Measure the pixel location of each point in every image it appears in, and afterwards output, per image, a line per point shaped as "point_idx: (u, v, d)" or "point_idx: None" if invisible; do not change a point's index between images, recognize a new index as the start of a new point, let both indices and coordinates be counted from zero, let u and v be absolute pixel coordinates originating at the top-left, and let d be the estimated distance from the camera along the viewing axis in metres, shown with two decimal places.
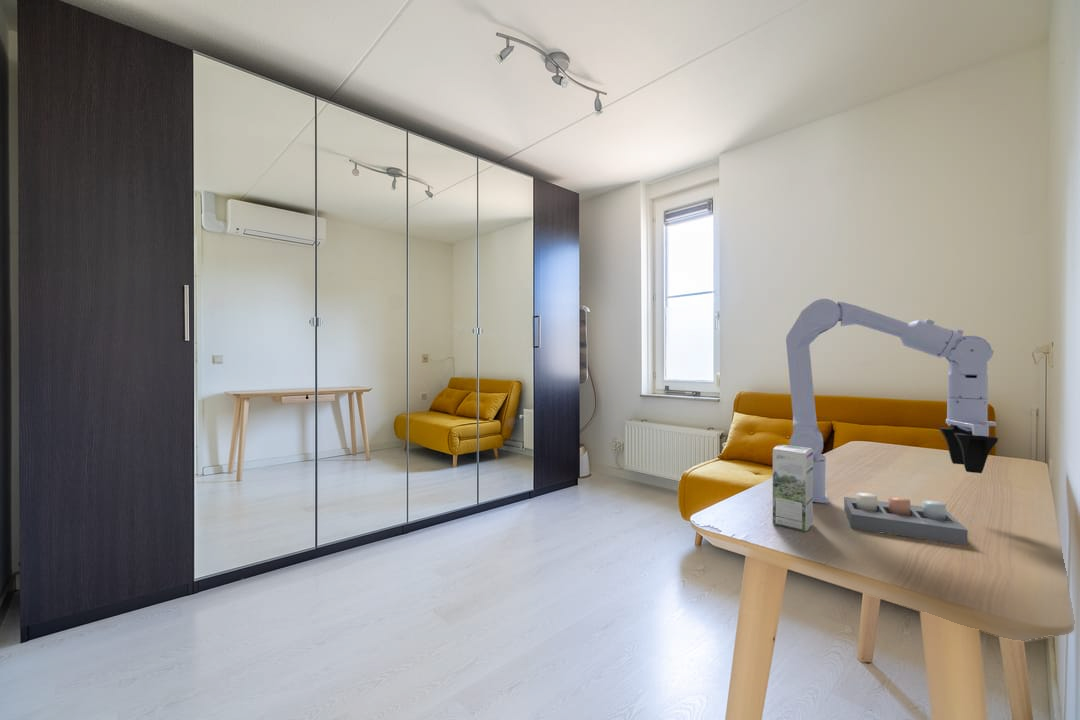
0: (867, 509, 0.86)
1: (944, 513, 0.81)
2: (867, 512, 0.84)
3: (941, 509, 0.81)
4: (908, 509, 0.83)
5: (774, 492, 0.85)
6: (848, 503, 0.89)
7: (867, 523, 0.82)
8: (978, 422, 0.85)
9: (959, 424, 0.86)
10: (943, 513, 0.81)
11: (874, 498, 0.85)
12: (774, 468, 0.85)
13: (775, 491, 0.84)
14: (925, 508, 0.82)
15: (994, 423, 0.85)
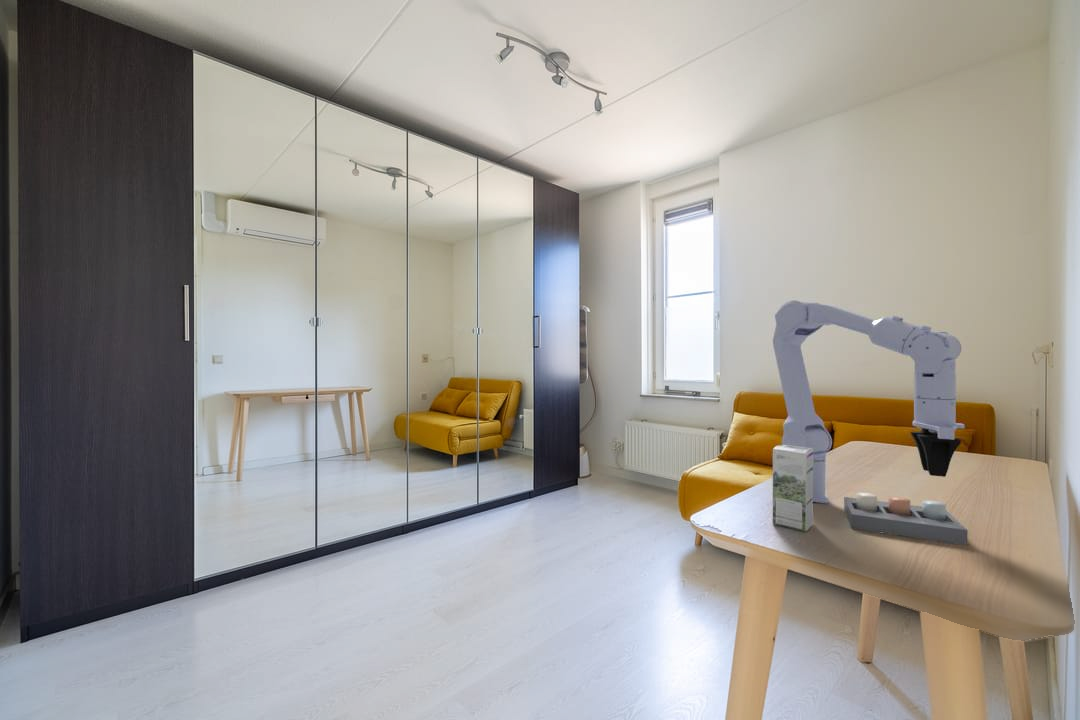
0: (867, 509, 0.86)
1: (944, 513, 0.81)
2: (867, 512, 0.84)
3: (941, 509, 0.81)
4: (908, 509, 0.83)
5: (774, 492, 0.85)
6: (848, 503, 0.89)
7: (867, 523, 0.82)
8: (945, 424, 0.79)
9: (925, 426, 0.80)
10: (943, 513, 0.81)
11: (874, 498, 0.85)
12: (775, 468, 0.85)
13: (775, 491, 0.84)
14: (925, 508, 0.82)
15: (962, 425, 0.80)
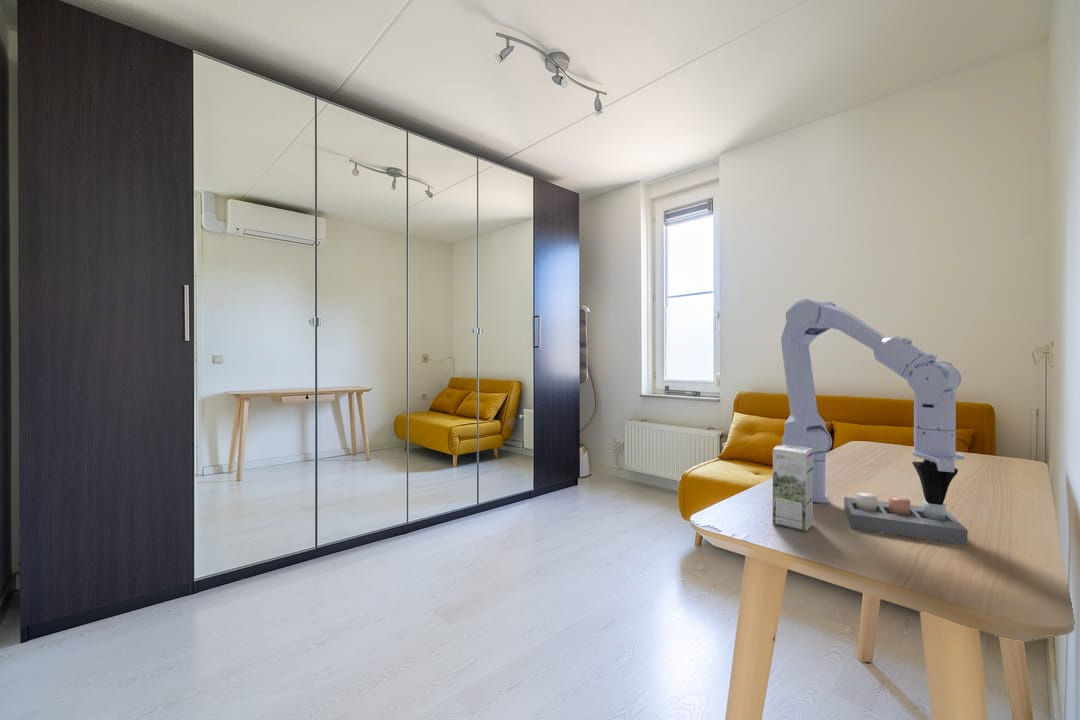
0: (867, 509, 0.86)
1: (944, 513, 0.81)
2: (867, 512, 0.84)
3: (941, 509, 0.81)
4: (908, 509, 0.83)
5: (774, 492, 0.85)
6: (848, 503, 0.89)
7: (867, 523, 0.82)
8: (945, 455, 0.79)
9: (925, 457, 0.80)
10: (943, 513, 0.81)
11: (874, 498, 0.85)
12: (775, 468, 0.85)
13: (775, 491, 0.84)
14: (925, 508, 0.82)
15: (962, 456, 0.80)
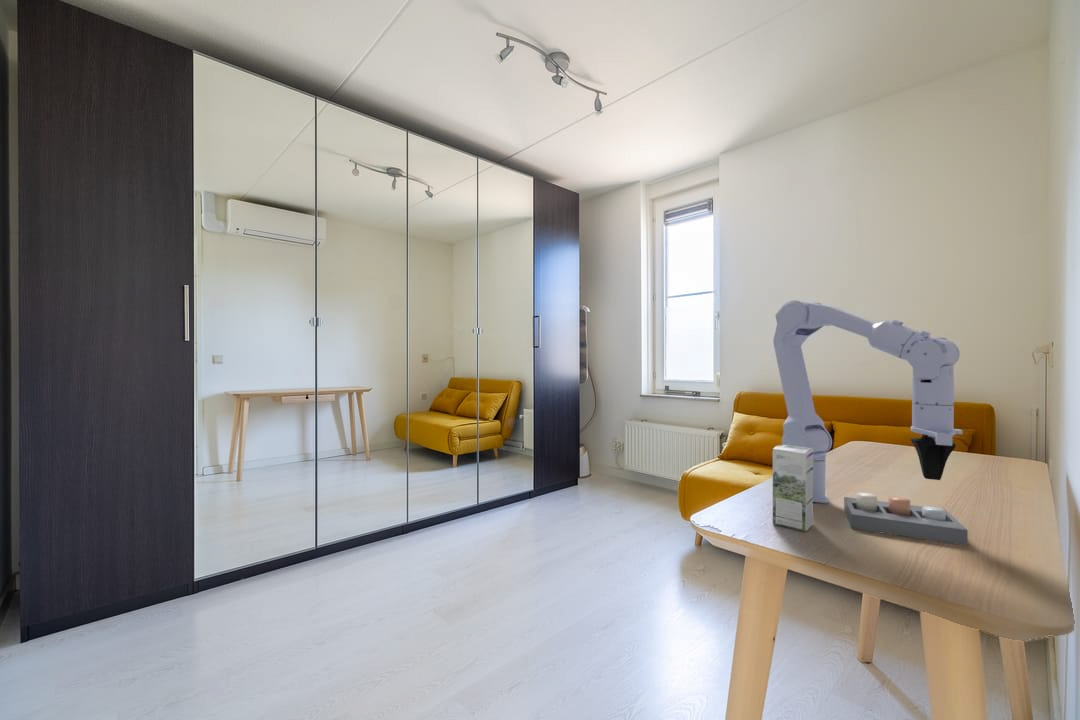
0: (867, 509, 0.86)
1: (944, 519, 0.81)
2: (867, 512, 0.84)
3: (941, 515, 0.81)
4: (908, 509, 0.83)
5: (774, 492, 0.85)
6: (848, 503, 0.89)
7: (867, 523, 0.82)
8: (943, 430, 0.80)
9: (923, 432, 0.80)
10: (943, 519, 0.81)
11: (874, 498, 0.85)
12: (774, 468, 0.85)
13: (775, 491, 0.84)
14: (925, 514, 0.82)
15: (960, 431, 0.80)
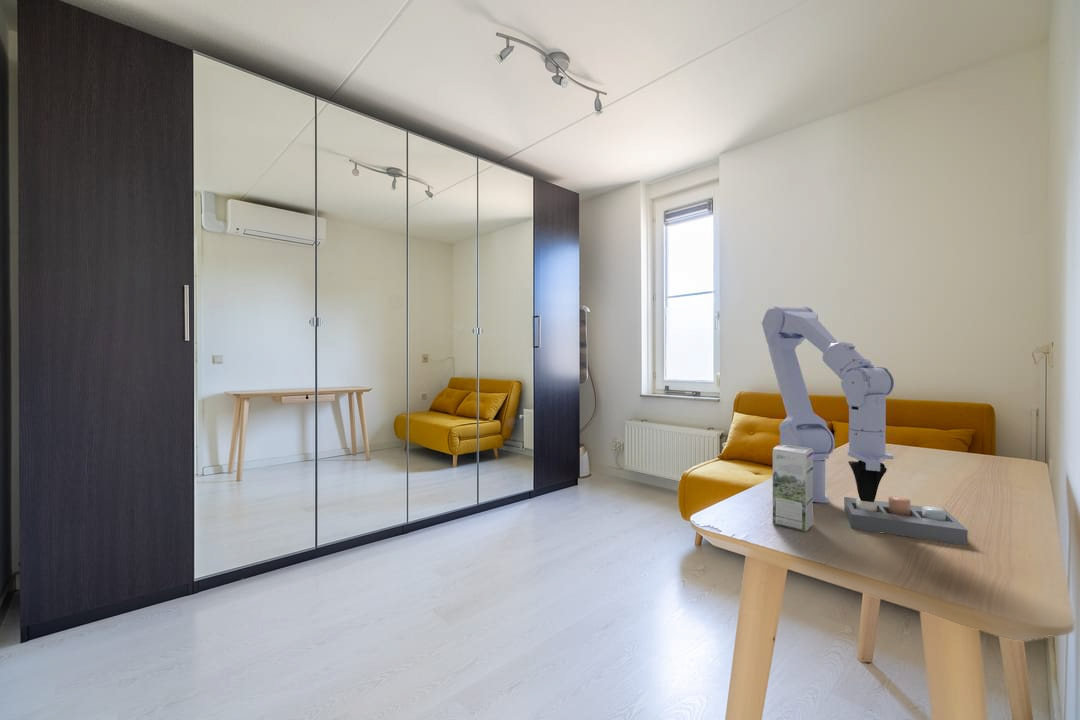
0: None
1: (944, 519, 0.81)
2: (867, 512, 0.84)
3: (941, 515, 0.81)
4: (908, 509, 0.83)
5: (774, 492, 0.85)
6: (848, 503, 0.89)
7: (867, 523, 0.82)
8: (875, 455, 0.84)
9: (856, 457, 0.85)
10: (943, 519, 0.81)
11: (874, 504, 0.85)
12: (774, 468, 0.85)
13: (775, 491, 0.84)
14: (925, 514, 0.82)
15: (891, 456, 0.84)
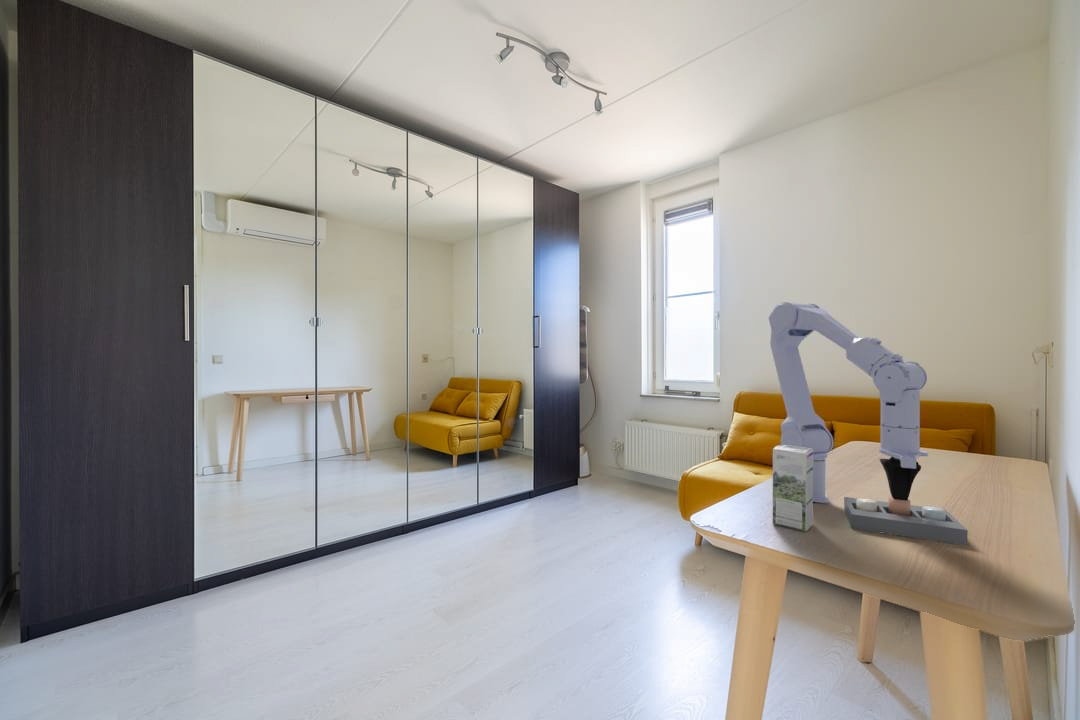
0: None
1: (944, 519, 0.81)
2: (867, 512, 0.84)
3: (941, 515, 0.81)
4: (908, 509, 0.83)
5: (774, 492, 0.85)
6: (848, 503, 0.89)
7: (867, 523, 0.82)
8: (909, 452, 0.82)
9: (890, 454, 0.83)
10: (943, 519, 0.81)
11: (874, 504, 0.85)
12: (774, 468, 0.85)
13: (775, 491, 0.84)
14: (925, 514, 0.82)
15: (926, 453, 0.82)
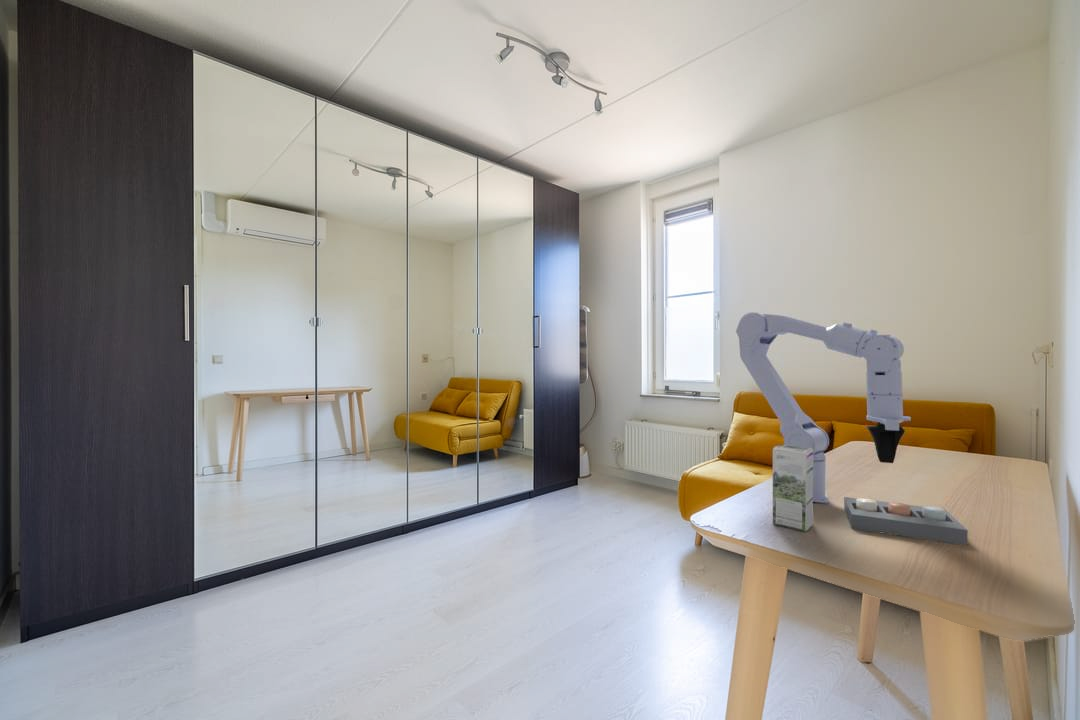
0: None
1: (944, 519, 0.81)
2: (867, 512, 0.84)
3: (941, 515, 0.81)
4: (908, 515, 0.83)
5: (774, 492, 0.85)
6: (848, 503, 0.89)
7: (867, 523, 0.82)
8: (893, 417, 0.88)
9: (875, 420, 0.89)
10: (943, 519, 0.81)
11: (874, 504, 0.85)
12: (774, 468, 0.85)
13: (775, 491, 0.84)
14: (925, 514, 0.82)
15: (909, 418, 0.89)
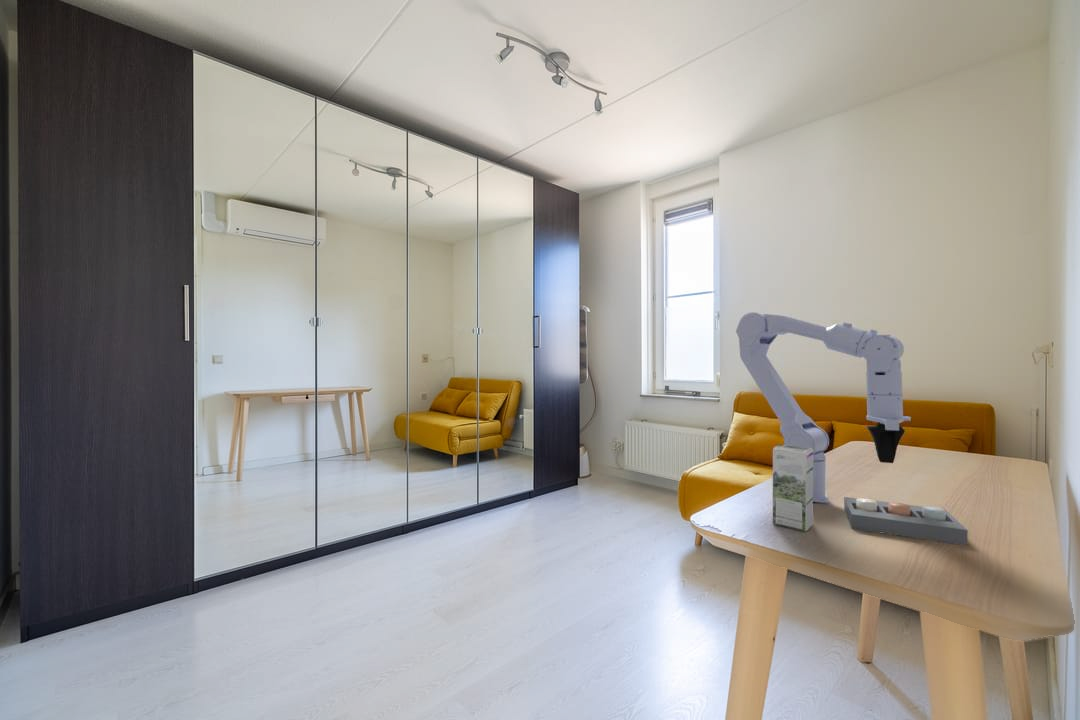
0: None
1: (944, 519, 0.81)
2: (867, 512, 0.84)
3: (941, 515, 0.81)
4: (908, 515, 0.83)
5: (774, 492, 0.85)
6: (848, 503, 0.89)
7: (867, 523, 0.82)
8: (893, 417, 0.88)
9: (875, 420, 0.89)
10: (943, 519, 0.81)
11: (874, 504, 0.85)
12: (775, 468, 0.85)
13: (775, 491, 0.84)
14: (925, 514, 0.82)
15: (909, 418, 0.89)
